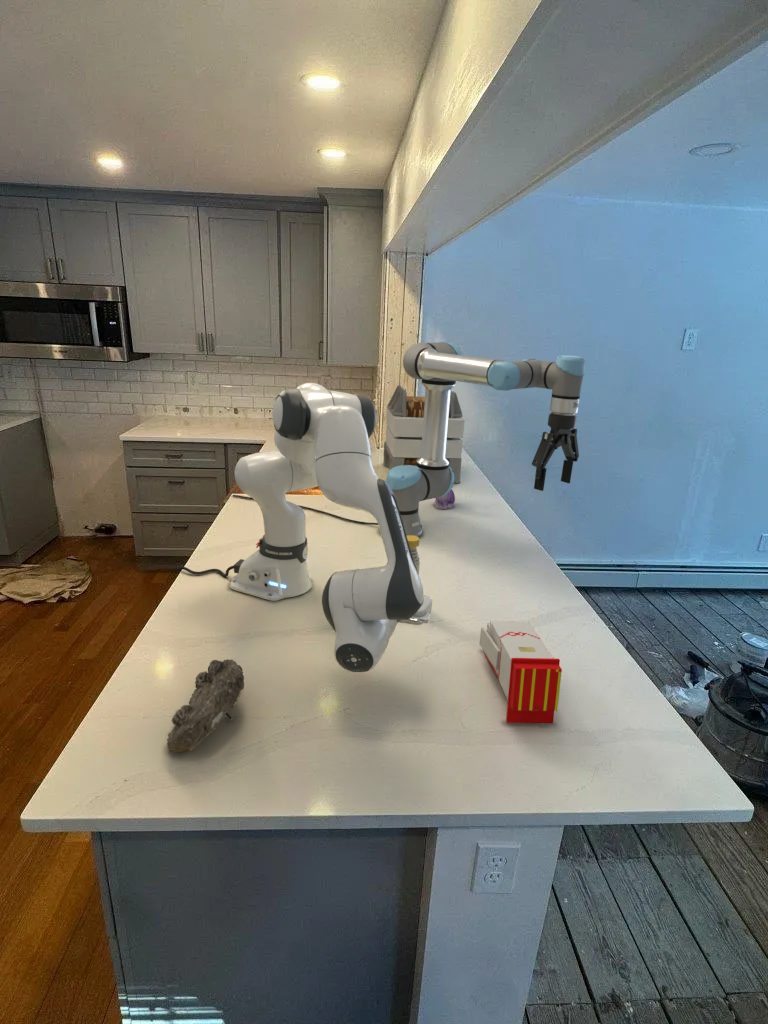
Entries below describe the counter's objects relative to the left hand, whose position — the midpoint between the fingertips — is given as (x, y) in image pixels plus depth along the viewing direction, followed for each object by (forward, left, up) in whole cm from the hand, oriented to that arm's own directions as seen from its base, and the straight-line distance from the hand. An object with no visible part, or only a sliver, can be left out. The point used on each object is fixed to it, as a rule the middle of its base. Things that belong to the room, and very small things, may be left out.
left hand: (391, 586), depth 127 cm
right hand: (+35, +54, +12) cm, 66 cm away
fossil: (-27, -33, -16) cm, 45 cm away
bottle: (0, +21, -16) cm, 26 cm away
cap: (0, +21, +3) cm, 21 cm away
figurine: (-2, +106, -16) cm, 107 cm away
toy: (+29, -4, -16) cm, 33 cm away
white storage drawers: (-21, +150, -16) cm, 153 cm away
